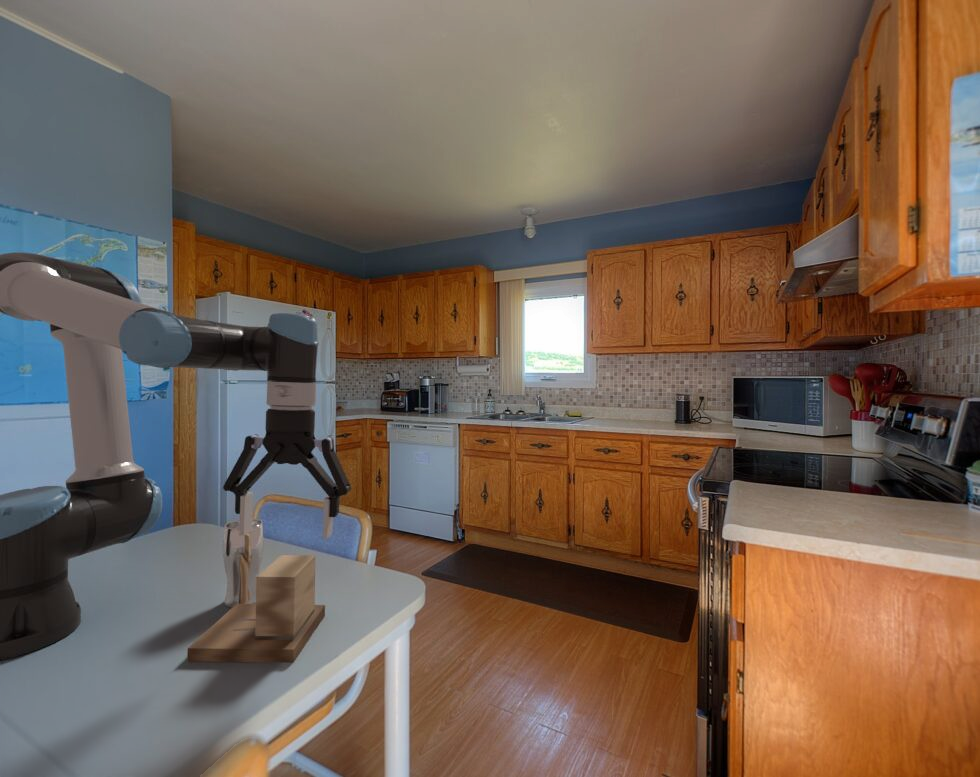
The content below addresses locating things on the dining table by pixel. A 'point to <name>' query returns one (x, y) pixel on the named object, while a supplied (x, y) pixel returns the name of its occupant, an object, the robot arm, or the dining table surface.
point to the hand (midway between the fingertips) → (286, 534)
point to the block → (285, 597)
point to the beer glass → (242, 562)
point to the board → (249, 639)
